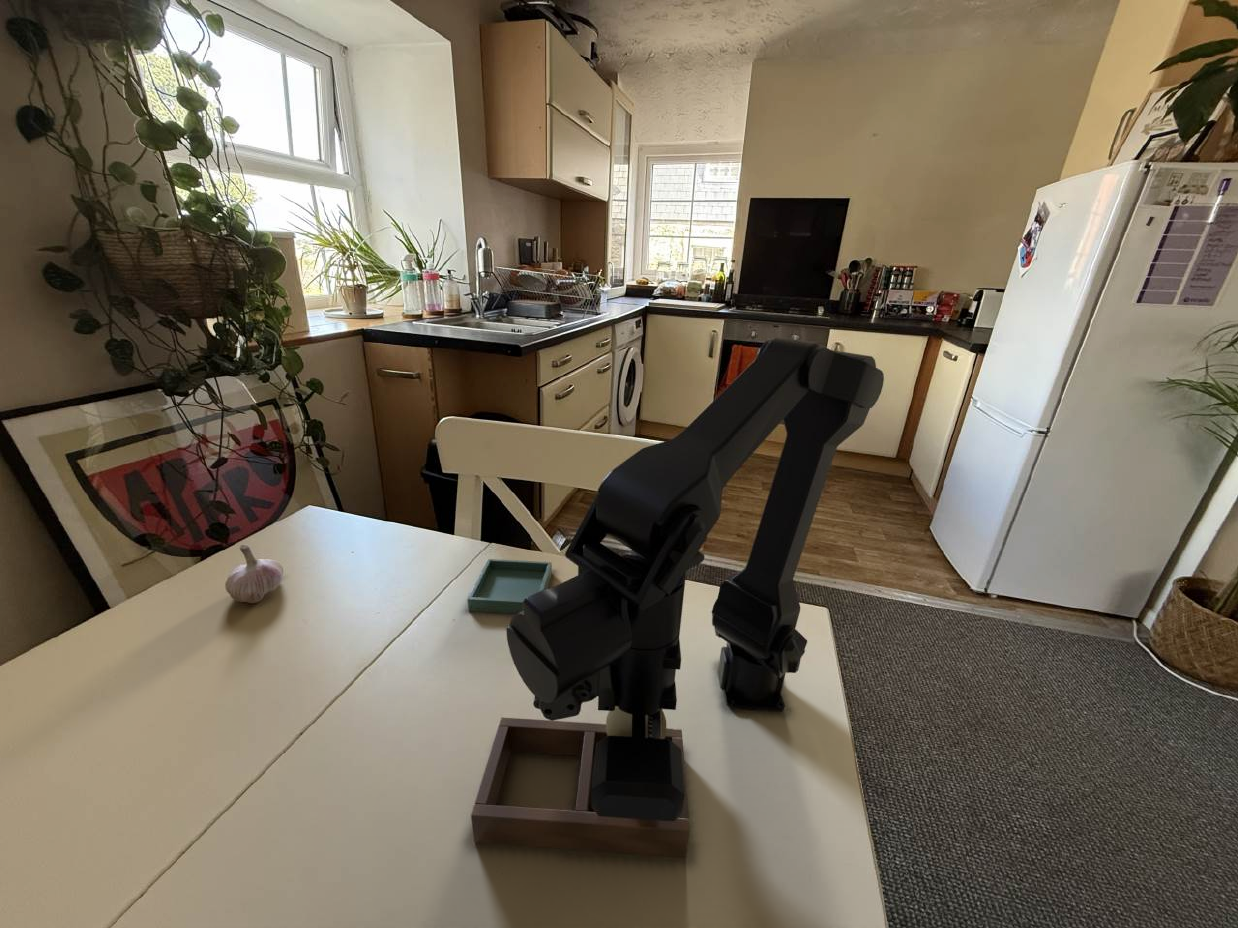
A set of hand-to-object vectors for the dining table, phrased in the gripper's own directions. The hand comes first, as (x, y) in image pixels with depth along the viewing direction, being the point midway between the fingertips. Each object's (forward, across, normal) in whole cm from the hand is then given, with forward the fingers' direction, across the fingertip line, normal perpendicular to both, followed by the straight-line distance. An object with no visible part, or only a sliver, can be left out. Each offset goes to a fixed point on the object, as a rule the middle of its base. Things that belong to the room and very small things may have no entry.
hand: (633, 762), depth 44 cm
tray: (+5, -29, -18) cm, 35 cm away
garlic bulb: (+5, -26, -54) cm, 60 cm away
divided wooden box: (+4, 0, -4) cm, 6 cm away
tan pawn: (+5, 0, 0) cm, 5 cm away
